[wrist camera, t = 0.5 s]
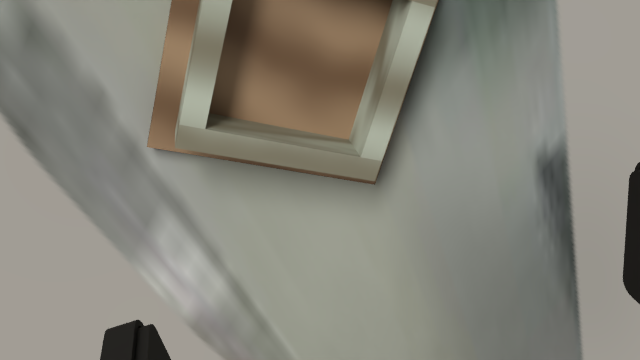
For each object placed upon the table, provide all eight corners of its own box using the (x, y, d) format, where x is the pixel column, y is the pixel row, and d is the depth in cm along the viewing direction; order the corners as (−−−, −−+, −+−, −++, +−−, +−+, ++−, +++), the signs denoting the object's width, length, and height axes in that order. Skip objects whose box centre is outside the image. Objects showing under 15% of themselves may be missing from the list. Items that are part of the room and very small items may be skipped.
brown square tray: (193, -126, 31) (195, -128, 28) (447, -45, 36) (476, -39, 33) (148, 140, 37) (144, 166, 34) (370, 178, 42) (388, 204, 39)
